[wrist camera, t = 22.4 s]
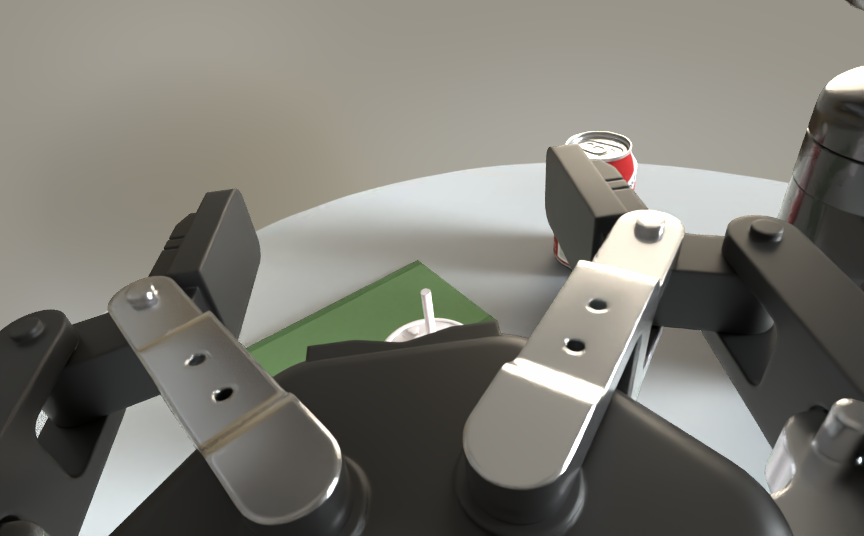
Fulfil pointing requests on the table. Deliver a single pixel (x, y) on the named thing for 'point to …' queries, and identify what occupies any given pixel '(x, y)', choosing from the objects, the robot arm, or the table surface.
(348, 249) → the table surface
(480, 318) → the green flat rectangular slab
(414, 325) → the smoothie
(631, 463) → the robot arm
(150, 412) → the table surface
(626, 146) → the soda can
